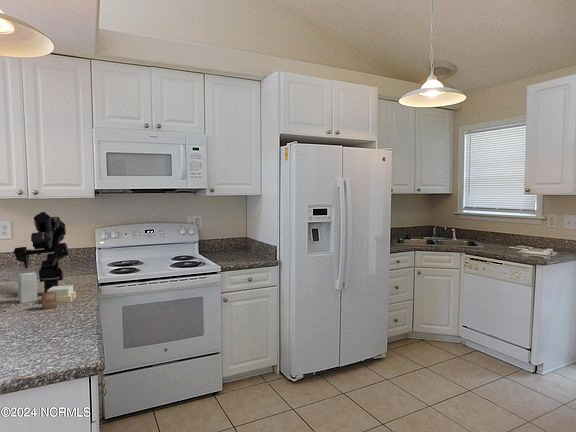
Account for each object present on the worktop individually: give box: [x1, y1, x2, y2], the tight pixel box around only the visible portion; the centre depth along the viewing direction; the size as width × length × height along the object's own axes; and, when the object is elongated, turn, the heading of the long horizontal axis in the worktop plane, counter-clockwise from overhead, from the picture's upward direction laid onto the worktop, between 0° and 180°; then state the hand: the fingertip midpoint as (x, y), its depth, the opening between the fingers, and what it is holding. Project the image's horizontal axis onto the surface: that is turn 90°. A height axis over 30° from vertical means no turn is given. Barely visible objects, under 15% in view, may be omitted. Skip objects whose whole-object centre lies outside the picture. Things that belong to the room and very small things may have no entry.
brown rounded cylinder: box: [41, 292, 57, 311], centre depth 154 cm, size 5×5×6 cm
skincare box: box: [17, 271, 38, 304], centre depth 165 cm, size 6×4×12 cm
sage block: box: [47, 284, 74, 297], centre depth 167 cm, size 8×8×3 cm
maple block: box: [56, 290, 77, 304], centre depth 167 cm, size 10×10×3 cm
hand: (39, 266), depth 154 cm, fingers open, 9 cm apart
